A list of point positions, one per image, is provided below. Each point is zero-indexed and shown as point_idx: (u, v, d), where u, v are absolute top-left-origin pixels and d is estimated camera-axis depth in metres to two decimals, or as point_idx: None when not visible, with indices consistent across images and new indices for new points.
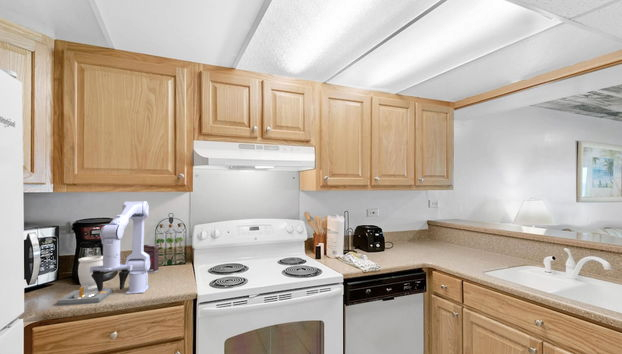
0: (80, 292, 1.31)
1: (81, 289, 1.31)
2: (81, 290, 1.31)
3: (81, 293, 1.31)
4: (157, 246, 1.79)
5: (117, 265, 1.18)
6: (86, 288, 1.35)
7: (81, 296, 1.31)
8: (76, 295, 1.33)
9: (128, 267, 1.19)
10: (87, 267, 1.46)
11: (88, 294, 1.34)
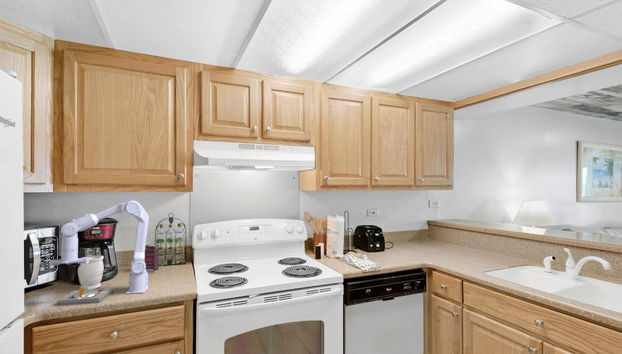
0: (80, 292, 1.31)
1: (81, 289, 1.31)
2: (81, 290, 1.31)
3: (81, 293, 1.31)
4: (157, 246, 1.79)
5: (74, 259, 1.31)
6: (86, 288, 1.35)
7: (81, 296, 1.31)
8: (76, 295, 1.33)
9: (84, 260, 1.32)
10: (87, 267, 1.46)
11: (88, 294, 1.34)
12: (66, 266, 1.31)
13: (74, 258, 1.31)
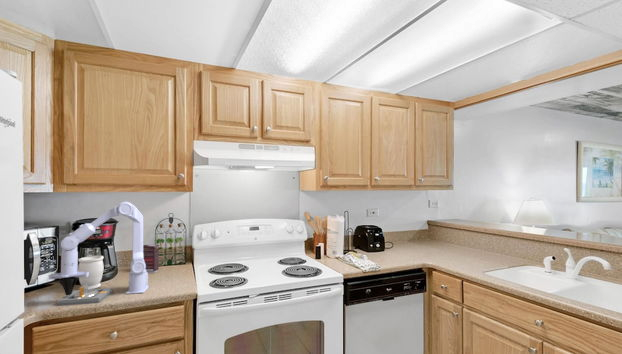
0: (80, 292, 1.31)
1: (81, 289, 1.31)
2: (81, 290, 1.31)
3: (81, 293, 1.31)
4: (157, 246, 1.79)
5: (74, 272, 1.31)
6: (86, 288, 1.35)
7: (81, 296, 1.31)
8: (76, 295, 1.33)
9: (84, 274, 1.32)
10: (87, 267, 1.46)
11: (88, 294, 1.34)
12: None
13: (74, 272, 1.31)
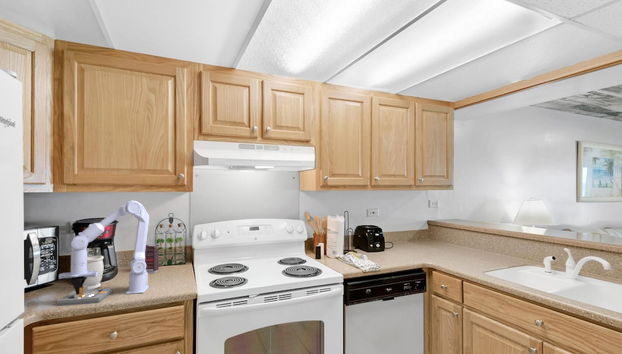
0: (80, 292, 1.31)
1: (81, 289, 1.31)
2: (81, 290, 1.31)
3: (81, 293, 1.31)
4: (157, 246, 1.79)
5: (84, 272, 1.32)
6: (86, 288, 1.35)
7: (81, 296, 1.31)
8: (76, 295, 1.33)
9: (94, 274, 1.33)
10: (87, 267, 1.46)
11: (88, 294, 1.34)
12: None
13: (83, 271, 1.32)
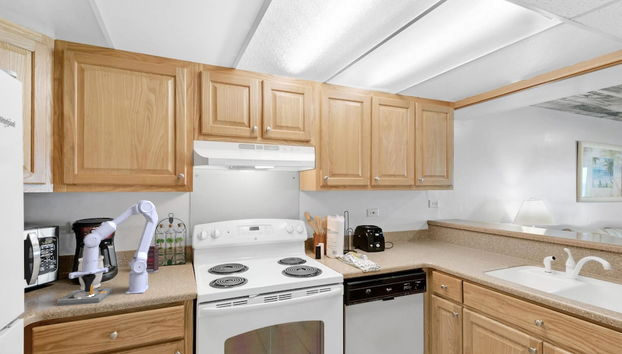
0: (91, 290, 1.33)
1: (92, 287, 1.34)
2: (92, 288, 1.34)
3: (92, 291, 1.34)
4: (157, 246, 1.79)
5: (97, 268, 1.36)
6: None
7: (92, 294, 1.34)
8: (81, 296, 1.32)
9: (106, 269, 1.39)
10: None
11: None
12: None
13: (97, 268, 1.35)
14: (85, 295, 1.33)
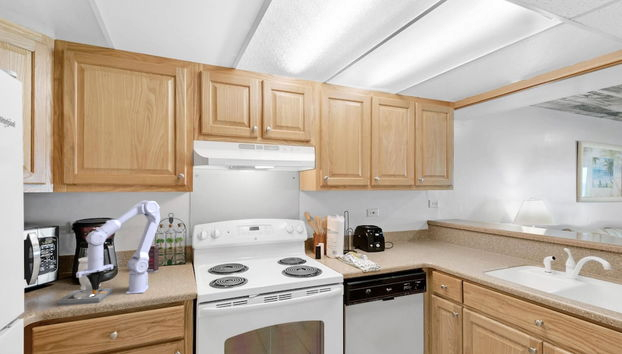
0: None
1: None
2: None
3: (96, 290, 1.35)
4: (157, 246, 1.79)
5: (103, 266, 1.35)
6: None
7: (96, 293, 1.35)
8: (84, 296, 1.32)
9: (111, 266, 1.38)
10: (87, 267, 1.46)
11: None
12: None
13: None
14: (88, 294, 1.34)
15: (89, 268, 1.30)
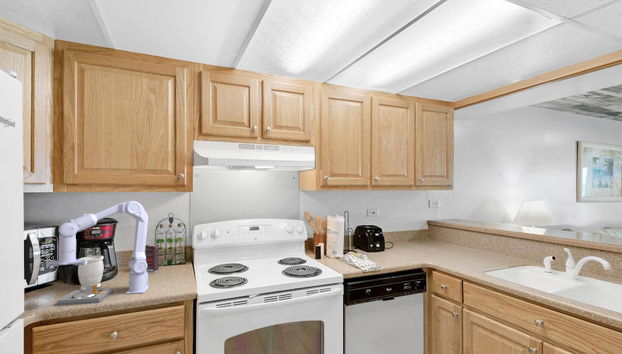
0: (95, 289, 1.35)
1: (96, 286, 1.35)
2: (96, 287, 1.35)
3: (96, 290, 1.35)
4: (157, 246, 1.79)
5: (72, 260, 1.27)
6: None
7: (96, 293, 1.35)
8: (84, 296, 1.32)
9: (83, 262, 1.28)
10: (87, 267, 1.46)
11: None
12: None
13: (72, 259, 1.27)
14: (88, 294, 1.34)
15: None
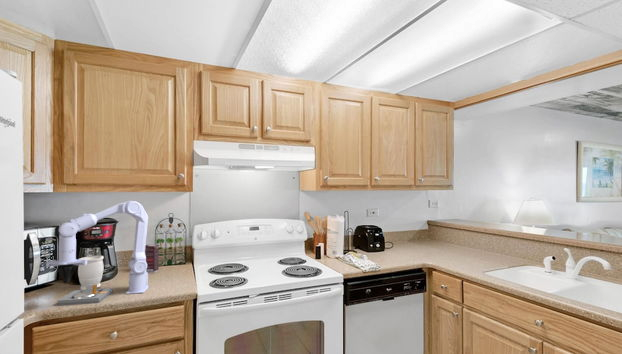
0: (95, 289, 1.35)
1: (96, 286, 1.35)
2: (96, 287, 1.35)
3: (96, 290, 1.35)
4: (157, 246, 1.79)
5: (72, 260, 1.27)
6: None
7: (96, 293, 1.35)
8: (84, 296, 1.32)
9: (83, 262, 1.28)
10: (87, 267, 1.46)
11: None
12: None
13: (72, 259, 1.27)
14: (88, 294, 1.34)
15: None
